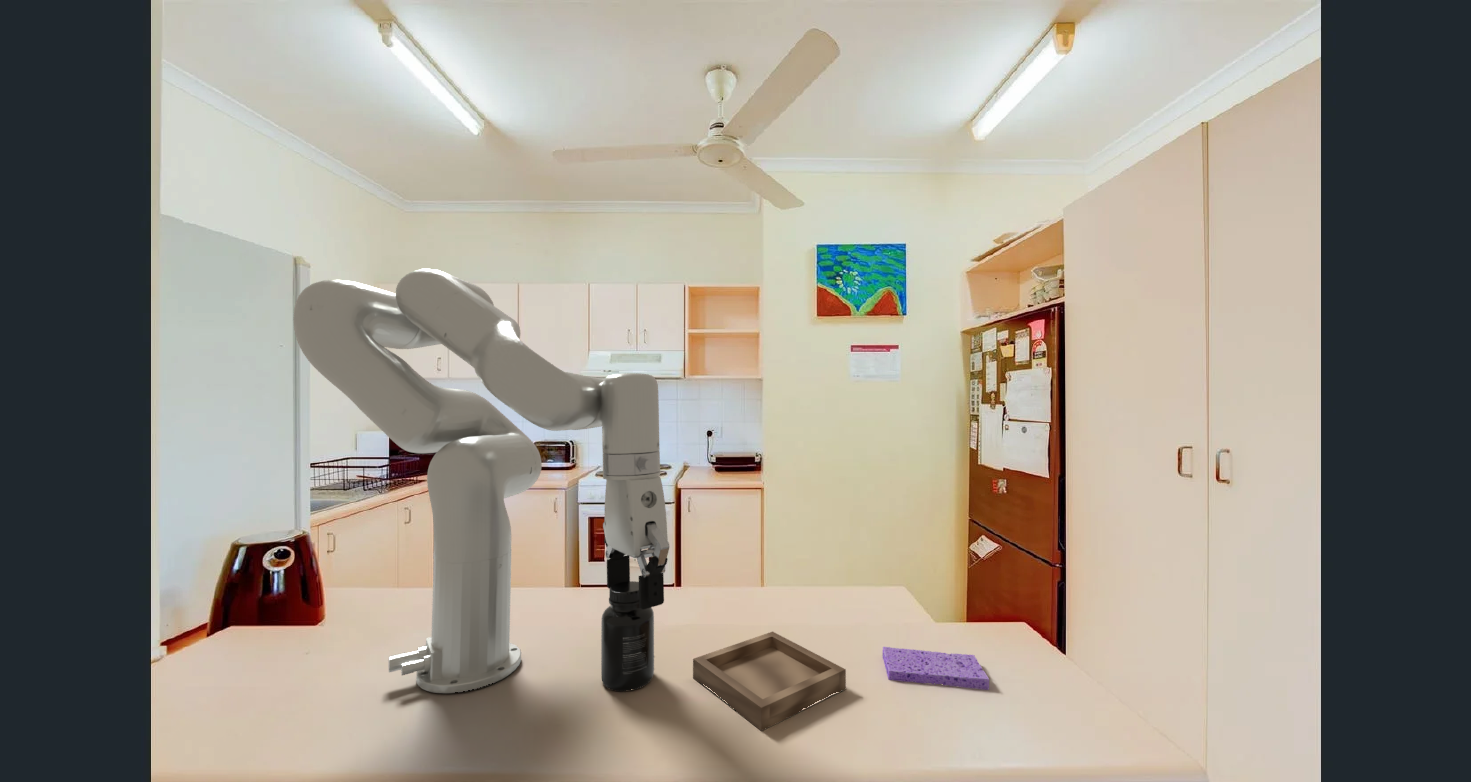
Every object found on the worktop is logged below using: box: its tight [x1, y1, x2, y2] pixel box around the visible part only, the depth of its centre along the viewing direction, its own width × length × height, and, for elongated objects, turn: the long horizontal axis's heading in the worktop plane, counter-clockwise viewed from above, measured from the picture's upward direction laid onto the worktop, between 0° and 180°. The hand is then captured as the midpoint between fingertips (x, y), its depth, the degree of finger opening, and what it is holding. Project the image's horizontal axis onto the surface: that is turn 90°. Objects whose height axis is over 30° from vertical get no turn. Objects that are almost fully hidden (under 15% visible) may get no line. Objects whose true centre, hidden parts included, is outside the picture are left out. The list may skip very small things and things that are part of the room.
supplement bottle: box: [600, 580, 655, 692], centre depth 67 cm, size 7×7×12 cm
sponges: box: [882, 646, 990, 691], centre depth 69 cm, size 7×13×2 cm, turn 79°
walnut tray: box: [692, 631, 847, 732], centre depth 66 cm, size 14×14×2 cm
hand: (634, 595), depth 67 cm, fingers open, 9 cm apart
